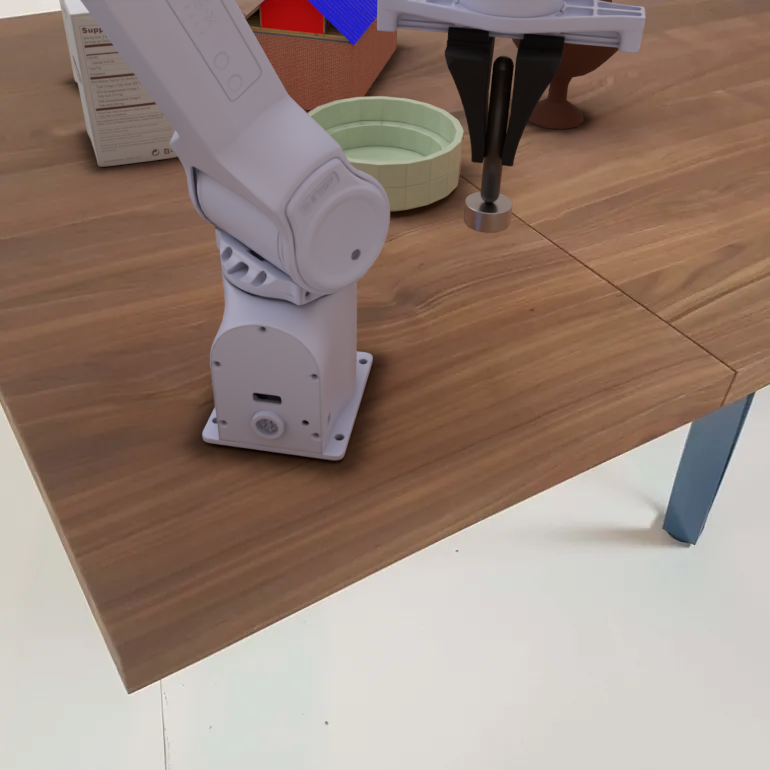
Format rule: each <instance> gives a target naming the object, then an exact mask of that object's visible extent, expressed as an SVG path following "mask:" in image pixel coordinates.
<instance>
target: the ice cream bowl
mask: <svg viewBox="0 0 770 770" xmlns="http://www.w3.org/2000/svg"><path fill="white" fill-rule="evenodd" d="M599 1H605V2H610V3H613V0H599ZM511 39H512V42H513V44H514V45H515V47H516V48H517V49H518V47H519V43H520V39H513V38H511ZM618 51H619V49H618V48H617V47H606V46H594V45H583V44H571V43H564V48H563V56H562V63H561V65H560V67H559V69H558V71H557V73H556V75H555V77H554V78H553V80H552V81H551V83H550V84H549V86H548V94H547V97H546V98H544V99H541V100H539V101H538V103H537V105H536V107H535V108H534V110H533V112H532V114H531V116H530V118H529V120H528V122H529V123H532V124H534V125H536V126H538V127H541V128H544V129H545V128H547V129H553V130H567V129H572V128H578V127H579V126H580V125H581V124H582V123H583V122H584V121H585V120H584V114H583V113H582V111H581V110H580V107H577V106H576V105H575V104H573V103H572V102H571V101H569V100H567V99H568V93H569V92H568V91H569V84H570V83H571V81H572V79H573V78H577V77H583V76H586V75H588V74H590V73H592V72H594V71H596V70H597V69H598V68H600V67H601V66H602V65H604V64H605V62H607V61H608V60H609V59H611V58H612V57H613V56H614V55H615V54H616V53H618Z"/></svg>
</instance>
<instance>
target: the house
mask: <svg viewBox="0 0 770 770" xmlns="http://www.w3.org/2000/svg"><path fill="white" fill-rule="evenodd" d="M377 4H378V0H263V1H261V2H260V3H259V4H258V5H257V6H256V7H254V8H253V9H252V10H251V11H250V12H249V13H247V14H246V15H244V17H245V19H246V21H247V23H248V24H249V26H250V28H251V30H252V31H253V33H254V35H255V37H256V38H257V40H258V42H259V44H260V46H261V47H262V49H263V51H264V53H265V54H266V56H267V58H268V60H269V61H270V63H271V65H272V67H273V68H274V70H275V72H276V74H277V76H278V77H279V79H280V81H281V83H282V84H283V86H284V88H285V90H286V91H287V93H288V95H289V96H290V97H291V98H292V99H293V100H294V101H295V102H296V103H297V104H298V105H299V106H300V107H301V108H302V109H303V110H304V111H311V110H313V109H315V108H316V107H318V106H321V105H324V104H327V103H330V102H333V101H336V100H342V99H348V98H355V97H365V95H366V94H367V93H368V91H369V90H370V88H371V86H372V85H373V84H374V82H375V81H376V79H377V78H378V76H379V75H380V74H381V72H382V70H383V69H384V67H385V66H386V65H387V63H388V61H389V60H390V59H391V57H392V56H393V54H394V53H395V51H396V50H397V47H398V45H397V44H398V29H397V30H396V31H395V32H386V31H378V30H377Z"/></svg>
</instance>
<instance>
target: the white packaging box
mask: <svg viewBox="0 0 770 770" xmlns="http://www.w3.org/2000/svg"><path fill="white" fill-rule="evenodd" d="M62 4H63V9H64V15H65V20H66V25H67V30H68V35H69V40H70V45H71V51H72V56H73V61H74V66H75V71H76V76H77V82H78V83H77V82H76V83H77V86H78V91H79V97H80V101H81V107H82V114H83V117H84V122H85V123H84V124H85V128H86V133H87V135H88V137H89V139H90V142H91V146H92V148H93V151H94V155H95V158H96V163H97V166H98V167H101V168H106V167H115V166H120V165H121V166H122V165H129V164H138V163H146V162H152V161H159V160H167V159H168V160H169V159H174V158H178V156H177V155H176V154H175V152H174V151H173V150H172V148H171V147H170V141H171V139H172V136H173V134H174V132H175V129H174V128H173V126H172V125H171V124H170V122H169V121H168V120H167V118H166V117H165V115H164V114H163V113H162V111H161V110H160V109H159V107H158V106H157V105H156V103H155V102H154V100H153V99H152V98H151V96H150V95H149V94H148V92H147V91H146V89H145V88H144V87H143V85H142V84H141V83H140V81H139V80H138V78H137V77H136V76H135V74H134V73H133V72H132V70H131V69H130V68H129V66H128V65H127V63H126V62H125V61H124V59H123V58H122V57H121V55H120V54H119V52H118V51H117V50H116V48H115V47H114V46H113V44H112V43H111V42H110V40H109V39H108V37H107V36H106V35H105V33H104V32H103V31H102V29H101V28H100V26H99V25H98V24H97V22H96V21H95V20H94V18H93V17H92V15H91V14H90V13H89V11H88V10H87V9H86V7H85V6H84V5H83V3H82V2H81V0H62Z"/></svg>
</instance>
